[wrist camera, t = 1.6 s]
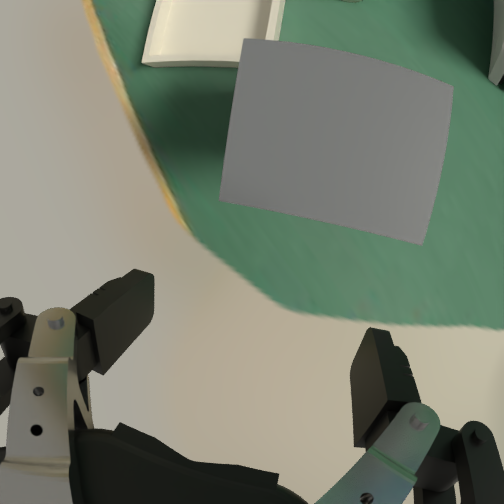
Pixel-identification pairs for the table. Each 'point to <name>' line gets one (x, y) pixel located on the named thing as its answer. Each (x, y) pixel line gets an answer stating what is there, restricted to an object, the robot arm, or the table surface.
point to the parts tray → (208, 31)
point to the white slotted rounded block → (497, 45)
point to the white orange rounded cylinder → (352, 1)
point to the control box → (336, 138)
